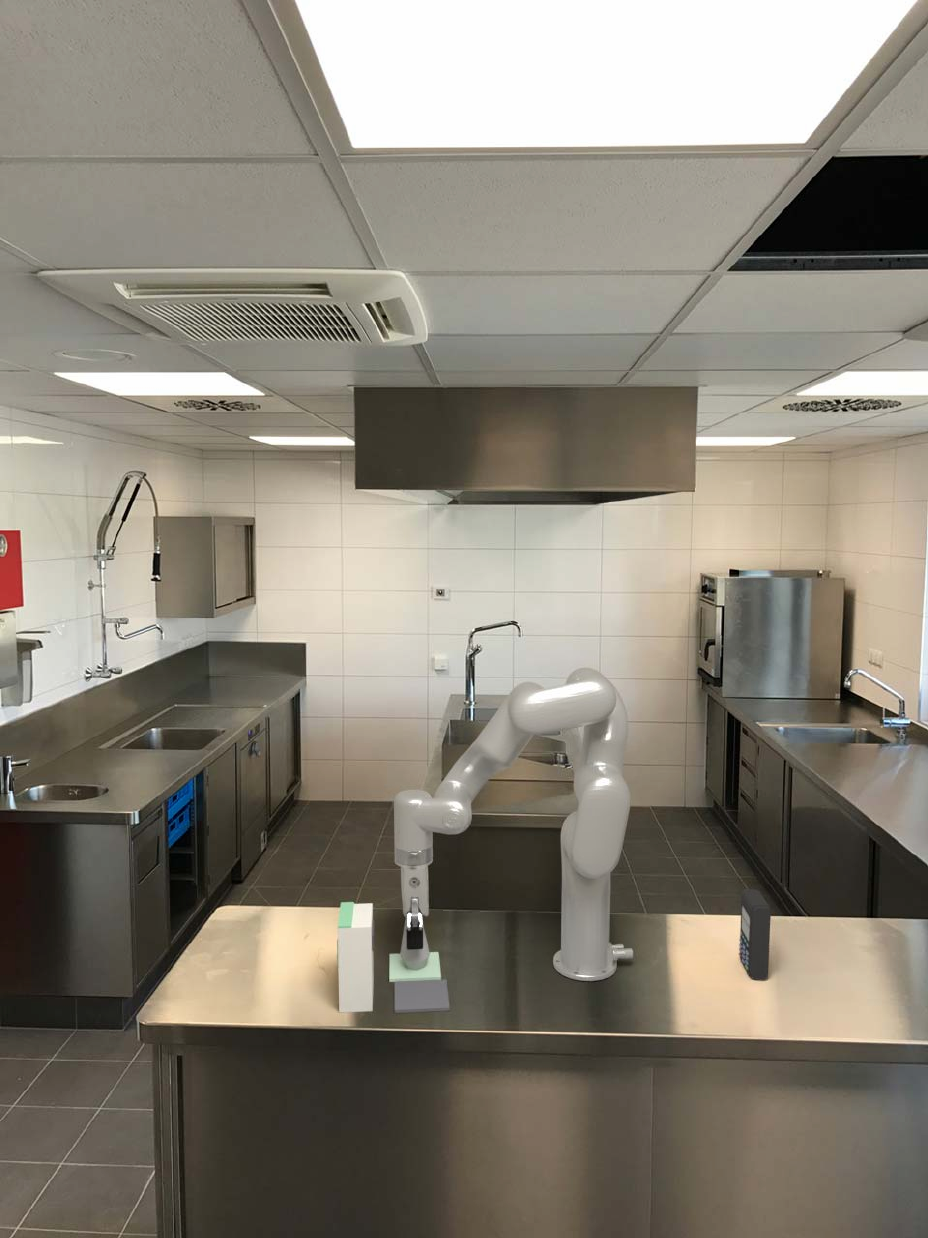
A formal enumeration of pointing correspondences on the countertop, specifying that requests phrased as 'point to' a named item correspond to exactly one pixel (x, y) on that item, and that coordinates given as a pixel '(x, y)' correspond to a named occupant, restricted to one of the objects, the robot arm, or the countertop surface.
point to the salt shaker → (414, 950)
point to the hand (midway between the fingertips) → (414, 937)
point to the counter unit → (355, 957)
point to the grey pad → (421, 996)
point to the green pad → (402, 973)
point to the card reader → (755, 934)
